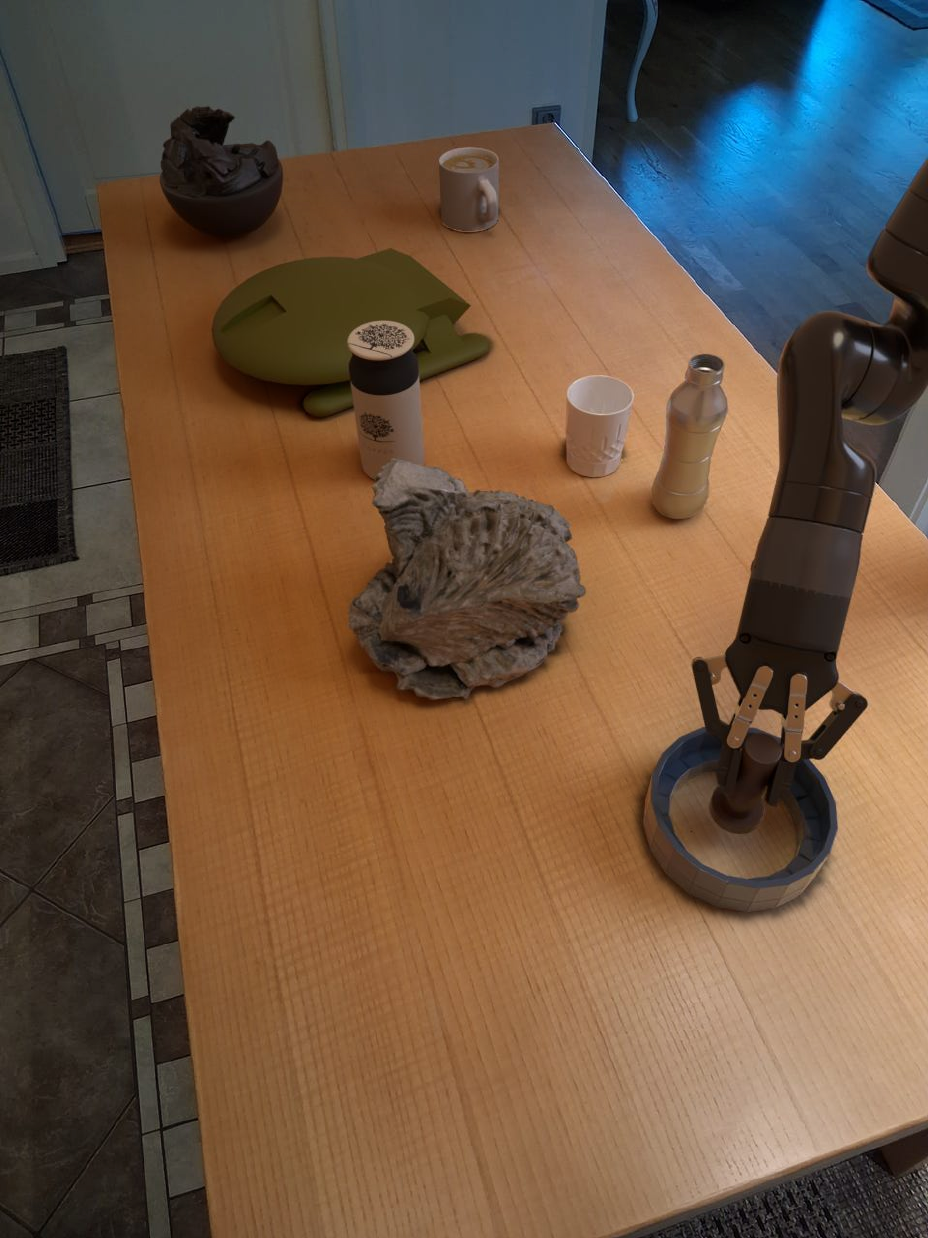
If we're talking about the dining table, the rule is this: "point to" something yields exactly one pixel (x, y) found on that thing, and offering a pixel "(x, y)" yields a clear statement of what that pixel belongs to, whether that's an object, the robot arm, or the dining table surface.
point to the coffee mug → (469, 188)
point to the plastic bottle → (690, 438)
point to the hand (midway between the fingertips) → (749, 796)
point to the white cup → (597, 424)
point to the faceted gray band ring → (815, 843)
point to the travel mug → (386, 395)
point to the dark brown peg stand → (747, 786)
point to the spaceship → (337, 321)
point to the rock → (463, 583)
